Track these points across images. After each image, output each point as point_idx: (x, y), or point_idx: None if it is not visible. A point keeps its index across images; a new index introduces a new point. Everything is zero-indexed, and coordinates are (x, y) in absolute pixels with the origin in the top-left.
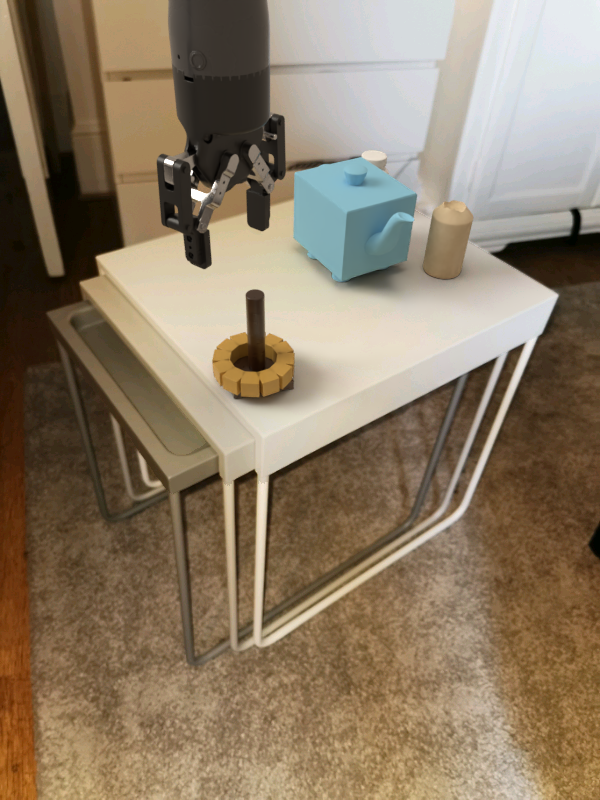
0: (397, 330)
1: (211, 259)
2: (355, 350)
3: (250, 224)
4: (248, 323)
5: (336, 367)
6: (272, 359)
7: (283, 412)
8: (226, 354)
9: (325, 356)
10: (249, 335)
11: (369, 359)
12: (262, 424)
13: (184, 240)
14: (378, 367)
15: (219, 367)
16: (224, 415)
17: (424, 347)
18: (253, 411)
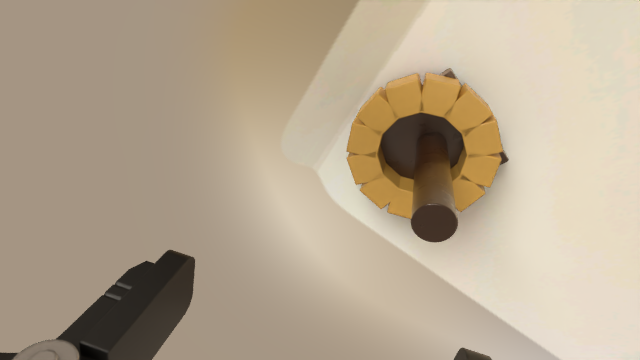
0: (618, 316)
1: (176, 324)
2: (541, 265)
3: (460, 358)
4: (416, 180)
5: (487, 246)
6: (454, 166)
7: (362, 200)
8: (410, 107)
9: (512, 227)
10: (415, 170)
11: (522, 286)
12: (329, 181)
13: (85, 313)
14: (504, 298)
15: (370, 110)
16: (323, 126)
17: (574, 350)
18: (347, 162)
